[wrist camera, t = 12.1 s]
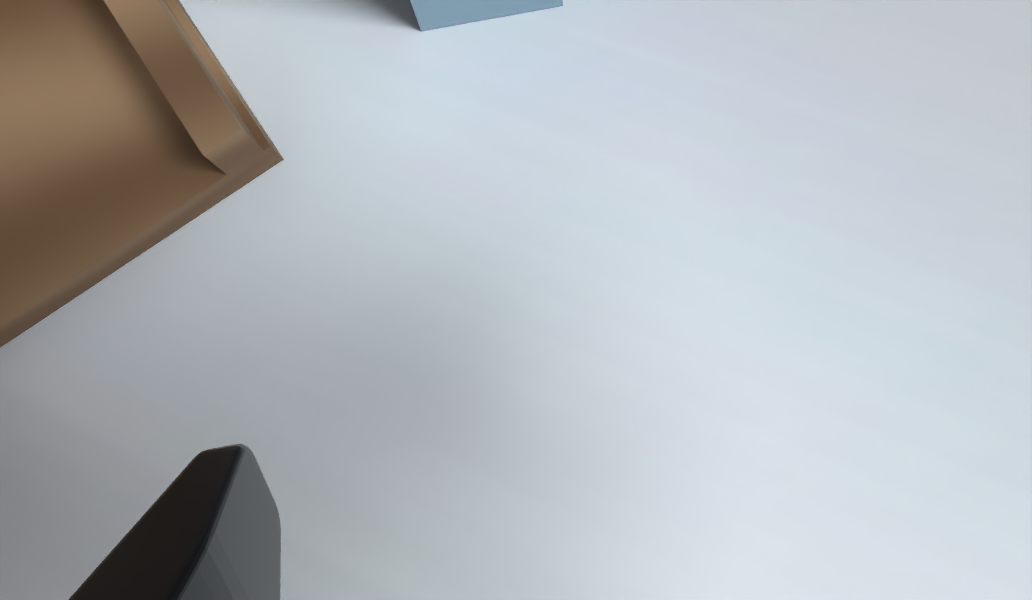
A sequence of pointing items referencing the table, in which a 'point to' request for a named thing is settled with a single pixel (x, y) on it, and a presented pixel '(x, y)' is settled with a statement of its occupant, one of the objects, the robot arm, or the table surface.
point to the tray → (107, 142)
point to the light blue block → (471, 10)
